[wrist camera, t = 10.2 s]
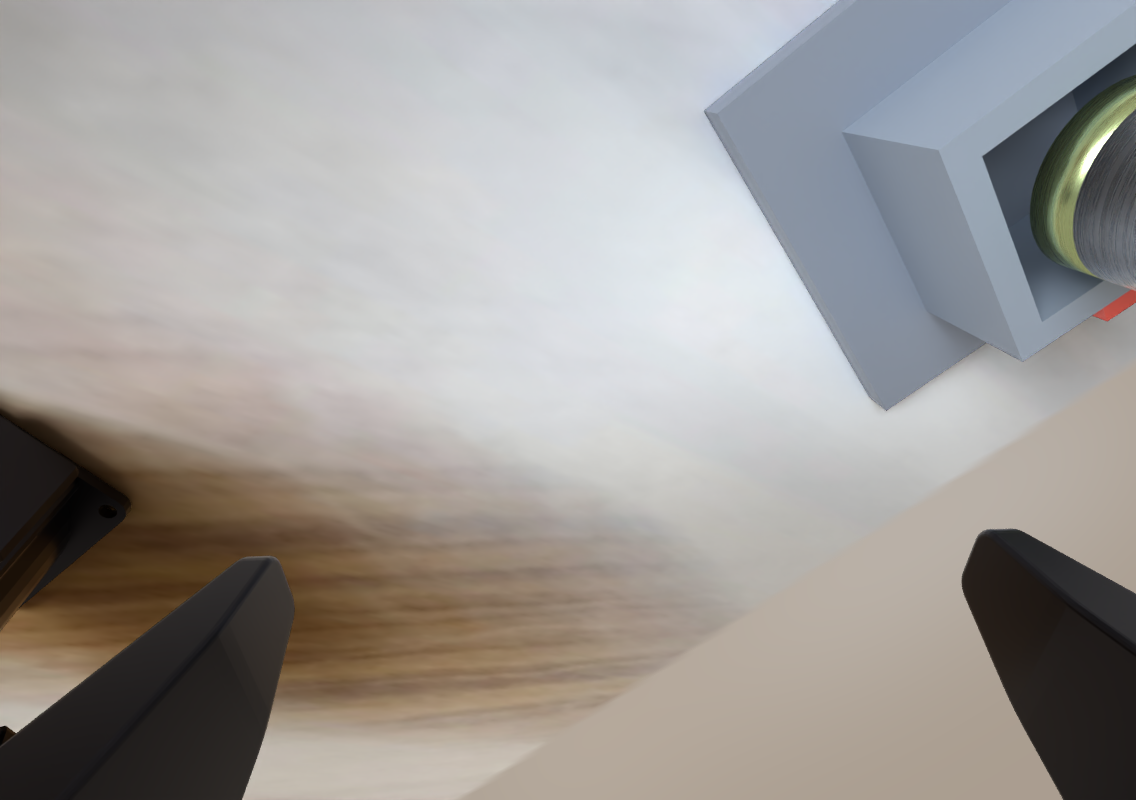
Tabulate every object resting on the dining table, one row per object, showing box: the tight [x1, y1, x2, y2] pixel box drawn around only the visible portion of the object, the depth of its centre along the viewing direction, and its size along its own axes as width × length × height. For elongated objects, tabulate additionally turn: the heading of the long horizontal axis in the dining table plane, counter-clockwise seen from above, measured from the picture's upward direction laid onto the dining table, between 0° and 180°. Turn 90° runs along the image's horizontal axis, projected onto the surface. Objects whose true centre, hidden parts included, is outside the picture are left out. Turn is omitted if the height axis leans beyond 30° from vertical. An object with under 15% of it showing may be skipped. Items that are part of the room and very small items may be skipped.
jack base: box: [704, 0, 1136, 411], centre depth 17 cm, size 12×12×5 cm
